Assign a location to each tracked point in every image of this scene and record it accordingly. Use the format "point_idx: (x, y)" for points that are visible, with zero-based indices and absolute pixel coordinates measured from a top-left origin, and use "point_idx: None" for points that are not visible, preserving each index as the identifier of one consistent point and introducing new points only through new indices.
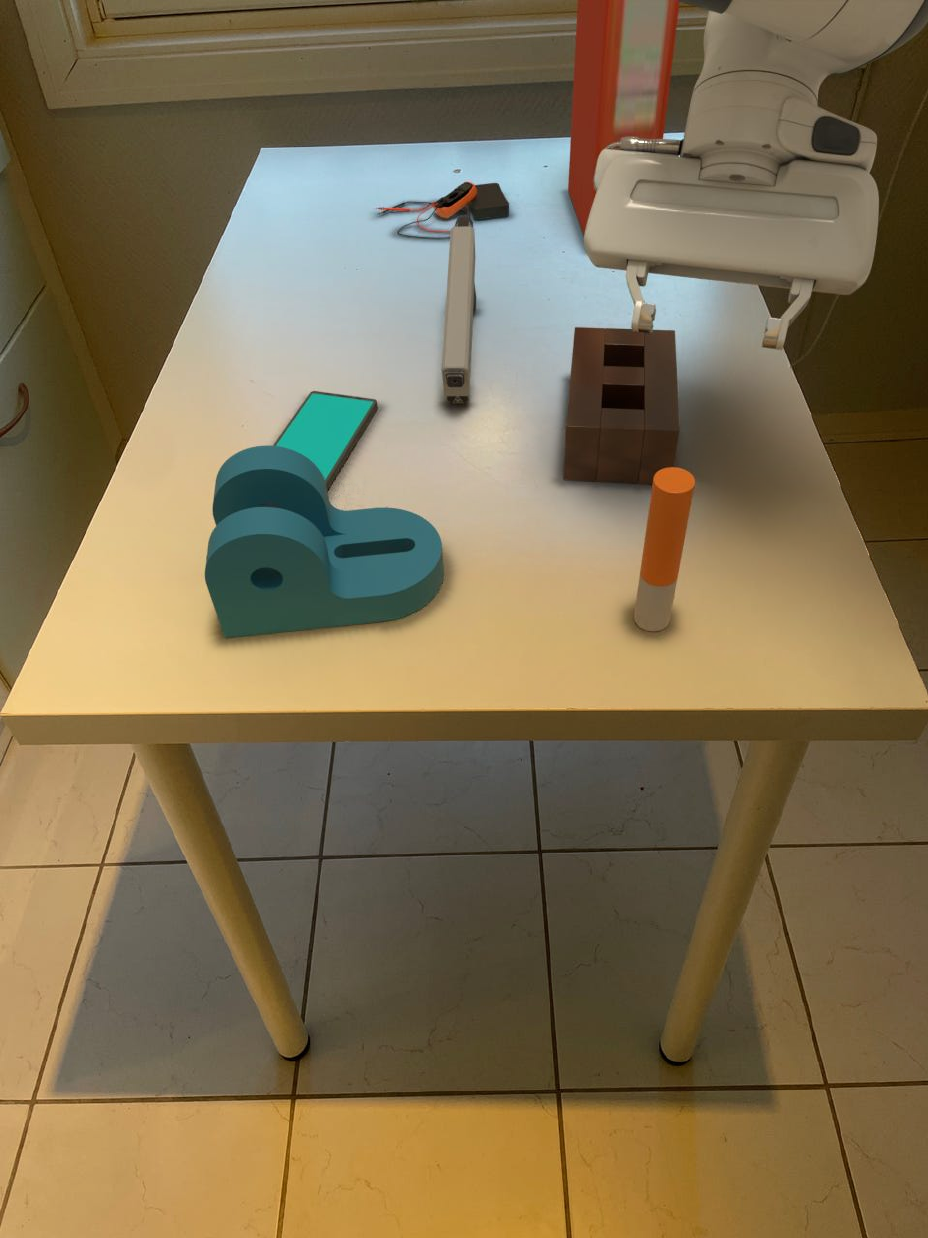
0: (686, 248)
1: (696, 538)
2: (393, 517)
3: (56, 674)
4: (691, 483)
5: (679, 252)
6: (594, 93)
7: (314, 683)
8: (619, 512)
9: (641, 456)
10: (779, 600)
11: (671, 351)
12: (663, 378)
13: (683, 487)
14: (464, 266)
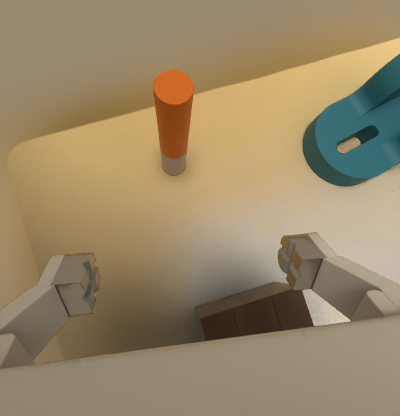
0: (331, 357)
1: (161, 250)
2: (363, 169)
3: None
4: (156, 85)
5: (340, 339)
6: None
7: (327, 72)
8: (223, 259)
9: (225, 303)
10: (94, 206)
11: None
12: None
13: (162, 79)
14: None
